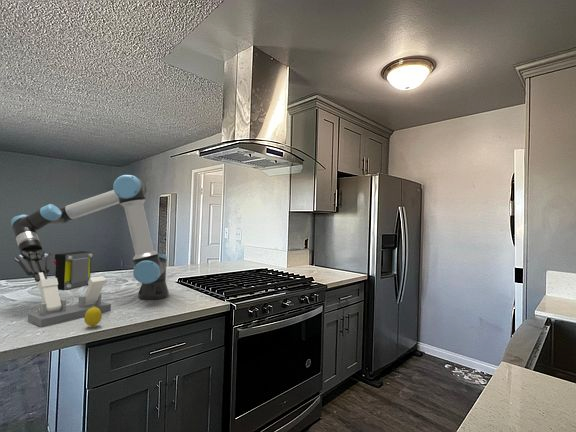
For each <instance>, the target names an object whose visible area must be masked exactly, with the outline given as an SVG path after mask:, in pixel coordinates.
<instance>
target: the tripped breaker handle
mask: <svg viewBox="0 0 576 432" xmlns="http://www.w3.org/2000/svg"><path fill="white" fill-rule="evenodd" d="M37 284H38V285H37V286H38V289H39V290H40V294H41V300H42V302H43V303H46V312H49V311H54V310H59V309H61V307H62V306H61V301H60V299H61V297H60V293H59V291H60V290H58V286H57V285H58V280H57V278H55V277H53V278H47V279H44V280H40V281H39V282H37Z"/></svg>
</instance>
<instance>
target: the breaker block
mask: <svg viewBox="0 0 576 432" xmlns="http://www.w3.org/2000/svg"><path fill="white" fill-rule="evenodd" d="M60 301H61V306H62V307H61V309H59V310H54V311H49V312H46V303H43V301H42V302H39V311H34V312H30V313H27V322H29V323H31V324H33V325H35V326H36V327H40V328H44V327H48V326H49V327H50V326H52V325H56V324H57V325H58V324H61V323H65V322H69V321H73V320H77V319H81V318H85V314H86V311H87V310H88V309H90V308H92V307H93V306H95V307H97V308H99V309H100V311H101V314H103V313H107V312H111V308H112V304H111V303H108V302H105V301H102V293H101V292H100V295H99V297H98V300H97V302H93V303H88V304H85V296H84V295H78V301H77V302H78V303H73V304H70V305H67V300H66V299H64V298H60Z"/></svg>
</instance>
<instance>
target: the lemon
mask: <svg viewBox="0 0 576 432" xmlns="http://www.w3.org/2000/svg"><path fill="white" fill-rule="evenodd" d="M102 315H103V313H101V311H100V309H99V308H97V307H95V306H93V307H92V308H90V309H88V310H87V311H86V314H85V317H84V323H85V325H87V326H89V327H90V328H94V327H95V326H97V325H98V324H99V323H100V322H101V320H102V317H103V316H102Z"/></svg>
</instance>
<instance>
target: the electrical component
mask: <svg viewBox="0 0 576 432" xmlns="http://www.w3.org/2000/svg"><path fill="white" fill-rule="evenodd" d="M93 256H94V254H93V252H92V251H83V250H82V251H81V250H79V251H74V252H73V251H72V252H62V253H56V254H54V260H53V263H54V265H55V277H54V278H57V280H58V285H57V286H58V291H60V290H61V291H66V290H70V289H74V288H79V287H82V286H83V285H84V286H88V285H87V284H88V281H89V279H90V278H91V272H92V271H91V269H92V258H93Z"/></svg>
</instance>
